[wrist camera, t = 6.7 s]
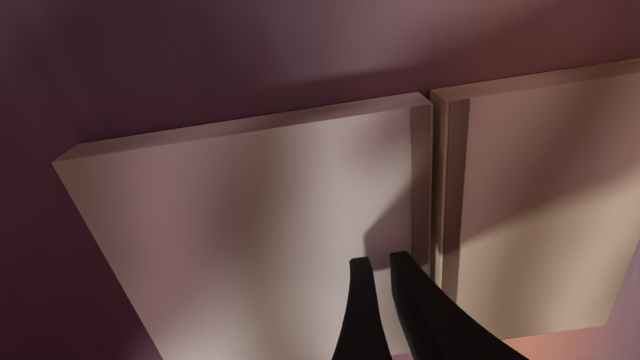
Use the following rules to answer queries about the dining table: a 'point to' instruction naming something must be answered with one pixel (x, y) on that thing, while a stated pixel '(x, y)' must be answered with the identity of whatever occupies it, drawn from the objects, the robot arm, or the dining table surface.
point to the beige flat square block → (260, 223)
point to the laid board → (536, 196)
